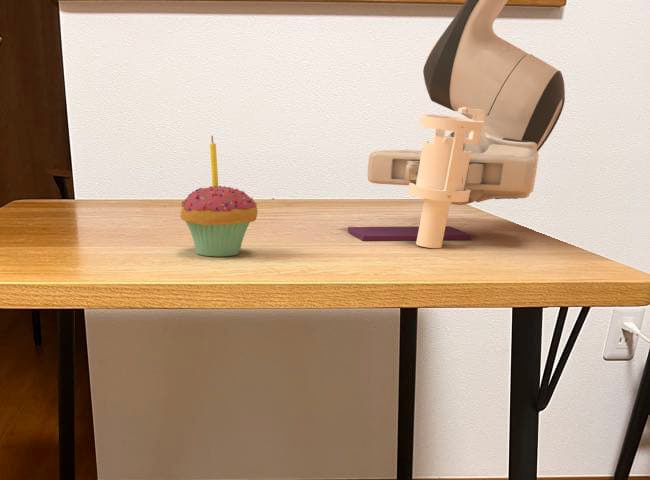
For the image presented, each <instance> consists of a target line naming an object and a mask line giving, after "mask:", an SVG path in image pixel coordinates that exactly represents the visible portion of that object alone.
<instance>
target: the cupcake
mask: <svg viewBox="0 0 650 480" xmlns="http://www.w3.org/2000/svg"><path fill="white" fill-rule="evenodd" d="M210 140H211V143H209V153H210V168H211V186H209V187H208V186H207V187H199V188H197V189H195V190H194V191H192V192H191V193H189V194H188V195H187V197H186V198H185V199H184V200H182V202H181V205H180V207H181V210H180V219H181V220H182V221H184V222H185V223H186V225H187V227H188V229H189V232H190V233H191V238H192V241H193V244H194V246H195V251H196V253H197V254H198V255H199V256H200V255H201V256H205V257H214V258H215V257H218V258H221V257H234V256H236V255H238V254H240V252H241V247H242V244H243V240H244V237H245V234H246V232H247V229H248V227H249V225H250V223H253V222H255V221H256V220H257V218H258V203H256V202H255V200H253V199H254V198H253V197H250V196H249V195H248V194H247V193H246V192H245V191H244V190H239V188H234V187H230V186H228V187H227V186H226V185H224V186H222V185H219V176H218V175H219V173H218V157H217V155H218V154H217V144H216V143H214V136H213V135H210Z"/></svg>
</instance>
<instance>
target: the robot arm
mask: <svg viewBox="0 0 650 480" xmlns="http://www.w3.org/2000/svg"><path fill="white" fill-rule="evenodd" d="M508 1H509V0H465V1H464V3H463V5H462V6H461V7H460V9H459V10H458V12H457V13H456V14H455V16H454V18H453V19H452V20H451V22H450V23H449V25H448V26H447V27H446V28H445V30H444V32H442V34H441V35H440V36H439V38H438V39H437V40H436V42H435V44H434V45H433V46H432V48H431V50H430V51H429V54H428V56H427V58H426V61H425V63H424V66H423V71H422V72H423V81H424V84H425V88H426V90H427V94H428V96H429V98H430V101H431V102H433V103H435V104H437V105H439V106H442V107H444V108H446V109H448V110H451V111H453V112H456V113H458V109H459V108H462V107H467V108H470V109H476V110H484V111H485V116H484V126H483V131H482V133H481V136H480V141H479V145H477V144H466V143H464V146H463V151H462V152H464V150H469V151H471V156H470V161H469V166H468V171H467V176H466V181H465V186H464V188H468V189H470V195H469V200H468V201H466V202H452V203H451V204H450V205H455V206H463V205H469V204H472V203H480V202H484V201H488V200H501V199H502V200H504V199H505V200H506V199H507V200H511V199H513V200H517V199H527V198H528V197H530V195H531V194H532V193H533V192H534V189H535V184H536V183H535V182H536V176H537V169H538V161H539V156H540V155H539V151H540V149H541V148H542V147H544V144H545V143H546V141H547V140H548V139H549V137H550V135H551V134H552V132H553V131H554V129H555V127H556V125H557V123H558V121H559V119H560V117H561V114H562V113H563V109H564V106H565V100H566V90H565V89H566V88H565V80H564V77H563V74H562V73H563V72H562V71H561V70H559V69H557V68H556V67H554V66H553V65H551V64H549V63H547V62H546V61H544V60H542V59H541V58H539V57H537V56H535V55H533V54H532V53H528V52H526V51H525V50H523V49H521V48H519V47H517V46H515V45H514V44H512V43H511V42H509V41H507V40H506V39H503V38H502V37H500V36H498V35H497V34H496V33H495V31H494V28H493V26H494V22H495V21H496V19H497V17H498V16H499V14H500V13H501V11H502V10H503V9H504V7H505V6H506V4H507V2H508ZM459 114H460V115H462V116H464V118H468V119H472V118H473V115H472V114H462V113H459ZM454 135H455V131H450V132H449V133H448V134H445V136H444V137H449V138H453V137H454ZM465 138H469V132H466V136H465ZM421 152H422V150H416V149H415V150H413V149H388V150H387V149H386V150H375V151H372V152H371V153H369V155H368V161H367V162H368V163H367V180H368V182H369V183H371V184H375V185H376V184H377V185H392V186H409V183H410V182H416V181H417V175H418V169H419V163H420V158H421ZM462 184H463V177H462Z"/></svg>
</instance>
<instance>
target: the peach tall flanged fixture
mask: <svg viewBox="0 0 650 480" xmlns="http://www.w3.org/2000/svg"><path fill="white" fill-rule="evenodd" d="M457 113H458V114H460V113H462V114H472V115H473V118H472V119H469V118H467V117H460V116H450V115H441V114H424V113H423V114H420V117H419V123H418V125H419V127H422V128H427V129H433V130H434V134H433V139H432V143H430V141H429V140H423V141H422V147H421V151H422V152H421V158H420V163H419V169H418V175H417V181H416V182H410V183H409V185H408V189H407V194H408V195H410V196H412V197H416V198H419V199H420V198H421V199H422V201H423V203H422V209H421V213H420V214H421V215H420V220H419V226H418V227H419V231H418V237H417V240H415V244H416V245H417V246H419V247H423V248H429V249H441V248H442V247H443V242H444V240H443V237H444V232H445V227H446V226H447V222H448V216H449V211H450V205H452V204H451V203H452V202H466V201H468V200H469V195H470V189H468V188H464V186H465V181H466V176H467V171H468V166H469V161H470V156H471V151H469V150H464V152H462V151H463V146H464V143H466V144H477V145H479V141H480V136H481V133H482V131H483V126H484V116H485V111H484V110H476V109H470V108H467V107H462V108H459V109H458V112H457ZM462 114H461V115H462ZM446 131H449V132H454V131H455V135H454V137H453V138H449V137H445V136H446ZM466 132H469V138H465V136H466ZM462 177H463V184H462Z"/></svg>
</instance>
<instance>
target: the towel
mask: <svg viewBox="0 0 650 480" xmlns="http://www.w3.org/2000/svg"><path fill="white" fill-rule="evenodd" d="M418 231H419V226H348V227H347V233H349V234H351V235H353V236H355V237H356V238H358V239H360V240H361V241H363V242H368V241H369V242H370V241H372V242H374V241H376V242H379V241H386V242H388V241H393V242H394V241H417V237H418ZM471 240H472V234H470V233H468V232H466V231H463V230H460V229H458V228H455V227H452V226H451V225H449V226H448V225H446V227H445V232H444V237H443V241H471Z"/></svg>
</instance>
